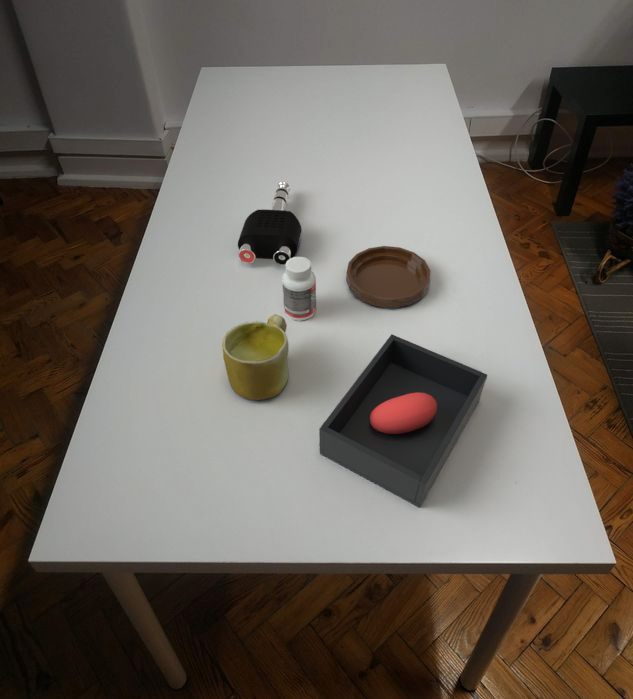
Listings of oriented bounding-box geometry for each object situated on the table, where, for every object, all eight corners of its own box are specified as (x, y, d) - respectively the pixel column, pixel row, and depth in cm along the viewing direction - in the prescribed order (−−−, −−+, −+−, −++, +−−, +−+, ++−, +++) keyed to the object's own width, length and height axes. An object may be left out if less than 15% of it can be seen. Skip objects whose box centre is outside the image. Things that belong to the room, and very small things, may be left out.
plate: (441, 273, 99) (443, 262, 97) (405, 321, 91) (407, 310, 89) (371, 248, 104) (372, 237, 102) (331, 291, 96) (331, 280, 94)
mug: (266, 417, 76) (252, 352, 71) (216, 399, 82) (200, 339, 77) (321, 375, 84) (311, 315, 79) (272, 362, 90) (260, 305, 85)
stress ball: (435, 448, 75) (452, 408, 72) (375, 442, 72) (391, 400, 69) (419, 426, 79) (435, 388, 77) (362, 420, 76) (377, 380, 74)
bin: (479, 400, 79) (487, 374, 75) (419, 508, 68) (425, 484, 64) (388, 360, 85) (391, 333, 81) (319, 454, 74) (319, 428, 70)
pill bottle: (319, 318, 91) (319, 272, 84) (287, 324, 91) (284, 277, 83) (312, 297, 95) (310, 251, 88) (281, 302, 94) (277, 256, 87)
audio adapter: (232, 243, 97) (257, 170, 114) (236, 267, 101) (260, 193, 118) (294, 246, 96) (310, 172, 113) (295, 270, 100) (311, 195, 117)
